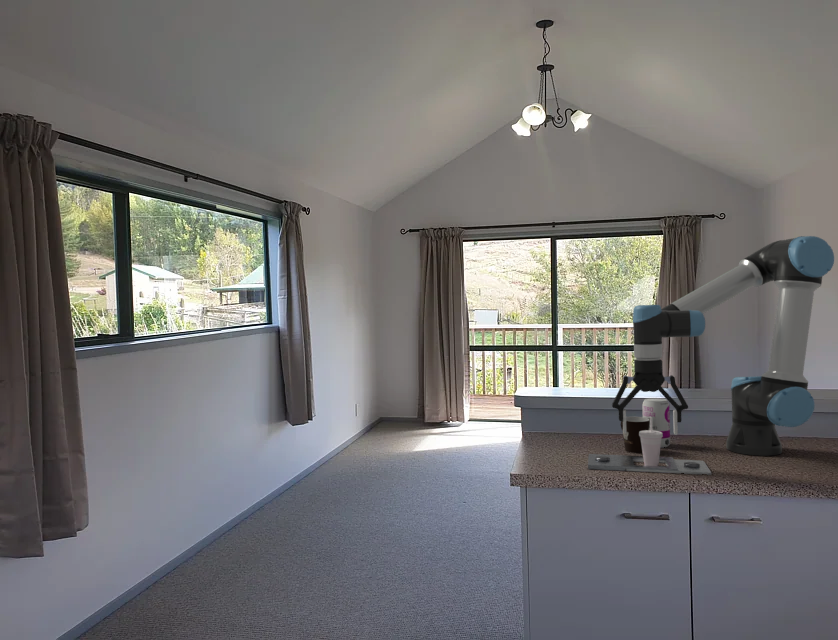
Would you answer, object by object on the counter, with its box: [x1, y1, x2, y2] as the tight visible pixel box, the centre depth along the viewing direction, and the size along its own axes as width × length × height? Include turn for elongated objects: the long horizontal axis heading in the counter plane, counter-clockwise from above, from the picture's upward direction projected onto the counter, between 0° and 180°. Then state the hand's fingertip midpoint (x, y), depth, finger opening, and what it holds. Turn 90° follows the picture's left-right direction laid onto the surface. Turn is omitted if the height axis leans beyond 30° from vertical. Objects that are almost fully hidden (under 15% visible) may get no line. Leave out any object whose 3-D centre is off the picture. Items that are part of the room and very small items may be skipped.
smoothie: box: [639, 417, 663, 466], centre depth 174 cm, size 6×6×14 cm
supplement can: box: [641, 397, 671, 449], centre depth 199 cm, size 8×8×15 cm
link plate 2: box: [625, 458, 713, 476], centre depth 173 cm, size 22×13×1 cm, turn 73°
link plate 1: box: [587, 453, 678, 472], centre depth 176 cm, size 24×13×2 cm, turn 73°
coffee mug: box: [620, 416, 650, 454], centre depth 194 cm, size 12×9×10 cm
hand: (649, 433), depth 174 cm, fingers open, 13 cm apart
